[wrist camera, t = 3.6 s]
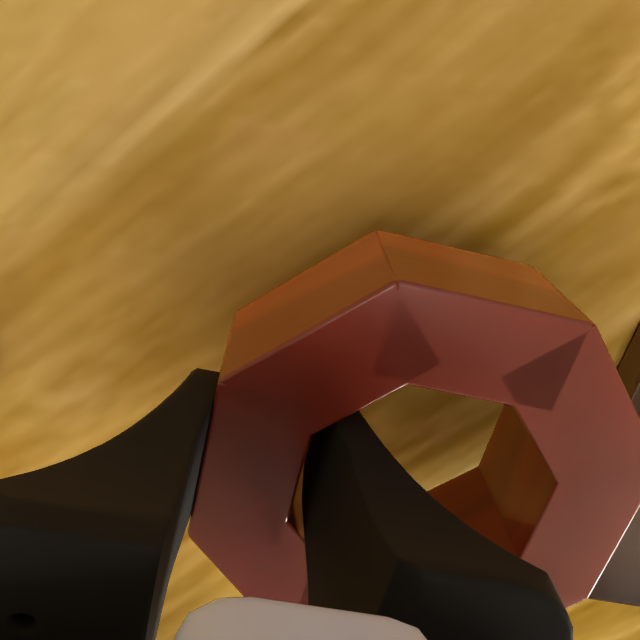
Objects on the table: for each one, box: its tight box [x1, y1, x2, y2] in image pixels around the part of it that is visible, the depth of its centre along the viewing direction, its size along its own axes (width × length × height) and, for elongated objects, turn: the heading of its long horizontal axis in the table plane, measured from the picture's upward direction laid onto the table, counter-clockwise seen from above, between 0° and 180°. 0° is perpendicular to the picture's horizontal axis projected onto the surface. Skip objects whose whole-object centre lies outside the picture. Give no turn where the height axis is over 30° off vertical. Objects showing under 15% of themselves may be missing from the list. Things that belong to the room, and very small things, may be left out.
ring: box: [188, 230, 640, 609], centre depth 14 cm, size 9×9×3 cm
